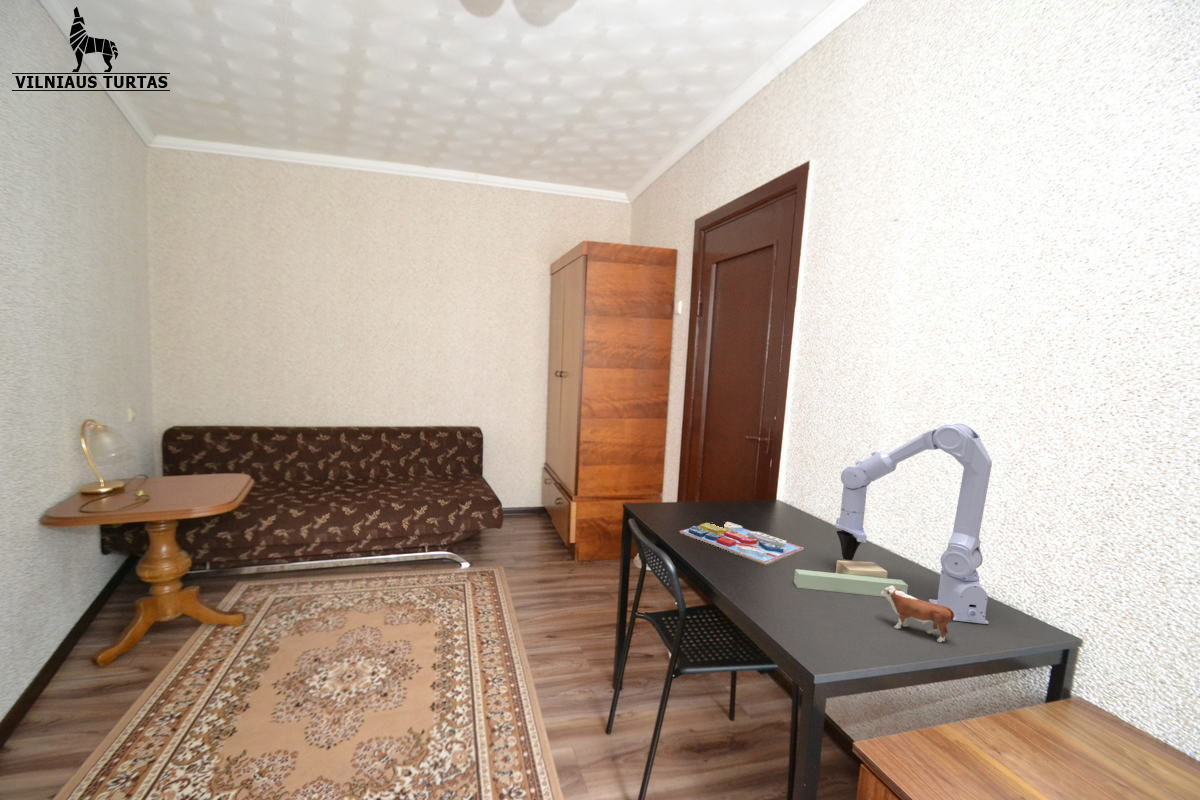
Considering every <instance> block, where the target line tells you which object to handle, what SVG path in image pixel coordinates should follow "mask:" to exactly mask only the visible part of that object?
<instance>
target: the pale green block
mask: <svg viewBox="0 0 1200 800" xmlns="http://www.w3.org/2000/svg"><path fill="white" fill-rule="evenodd" d="M794 569H795V568H794ZM793 578H794V579H793V583H794V585H795V586H796V587H797V588H798V589H805V590H807V589H808V590H815V591H816V590H817V591H824V592H825V591H827V592H834V593H835V592H836V593H846V594H855V595H863V596H864V595H865V596H872V597H873V596H874V597H881V598H882V597H884V598H886V597H885V596H882V595H881V592H882V591H883V590H884V589H885V588H887V587H889V586H894V587H895V589H900V590H901V591H902V592H904V593H905V594H907V595H908V588H909V585H908V584H907V583H906V582H905V581H904V580H903V579H896V578H888V577H887V578H877V577H867V576H857V575H848V574H838V573H836V572H826V571H818V570H817V571H815V570H807V569H795V570H794V577H793Z"/></svg>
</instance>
